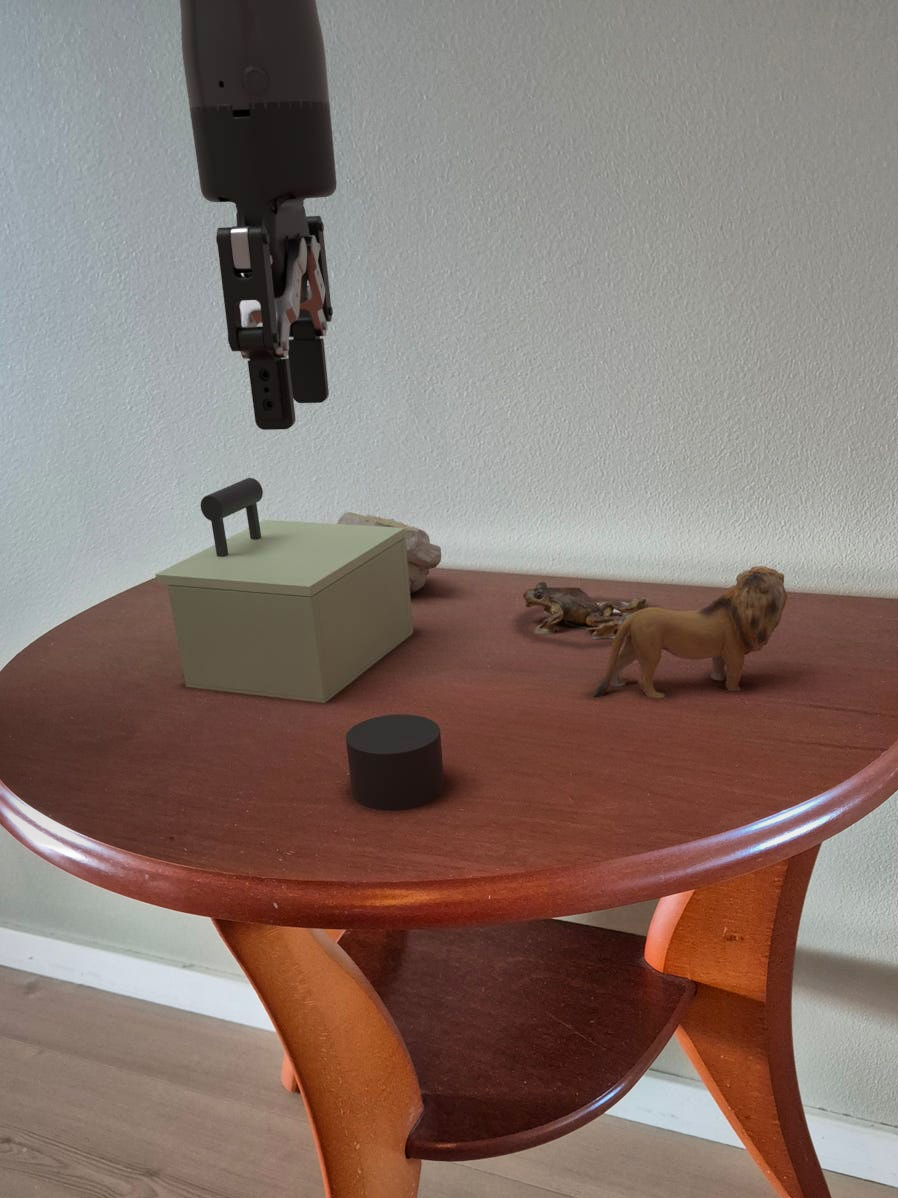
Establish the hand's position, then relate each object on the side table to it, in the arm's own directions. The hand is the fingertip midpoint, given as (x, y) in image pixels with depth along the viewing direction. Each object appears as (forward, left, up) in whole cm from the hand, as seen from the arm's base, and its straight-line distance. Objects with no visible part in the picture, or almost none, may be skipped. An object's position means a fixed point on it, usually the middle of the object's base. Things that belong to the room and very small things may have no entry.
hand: (294, 414), depth 72 cm
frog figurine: (+9, +29, -23) cm, 38 cm away
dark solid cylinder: (+7, -5, -23) cm, 24 cm away
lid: (-11, +15, -14) cm, 23 cm away
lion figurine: (+21, +18, -23) cm, 36 cm away
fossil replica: (-13, +34, -23) cm, 43 cm away
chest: (-11, +15, -23) cm, 29 cm away
